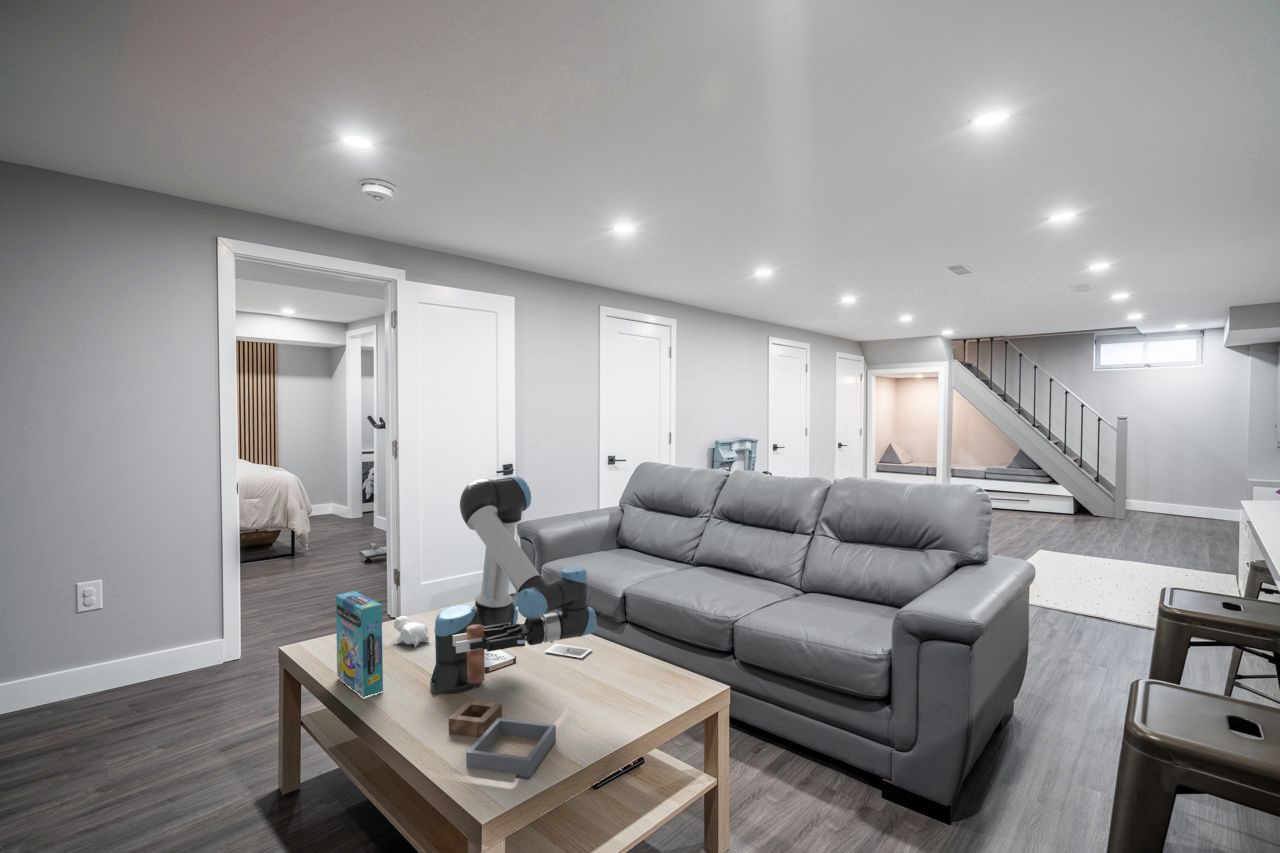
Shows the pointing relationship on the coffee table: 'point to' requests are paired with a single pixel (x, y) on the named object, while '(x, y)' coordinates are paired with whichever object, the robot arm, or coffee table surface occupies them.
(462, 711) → the socket block
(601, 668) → the coffee table surface
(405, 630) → the white animal figurine
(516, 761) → the tray
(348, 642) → the game box
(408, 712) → the coffee table surface
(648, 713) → the coffee table surface
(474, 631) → the dowel
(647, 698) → the coffee table surface
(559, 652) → the touchpad
